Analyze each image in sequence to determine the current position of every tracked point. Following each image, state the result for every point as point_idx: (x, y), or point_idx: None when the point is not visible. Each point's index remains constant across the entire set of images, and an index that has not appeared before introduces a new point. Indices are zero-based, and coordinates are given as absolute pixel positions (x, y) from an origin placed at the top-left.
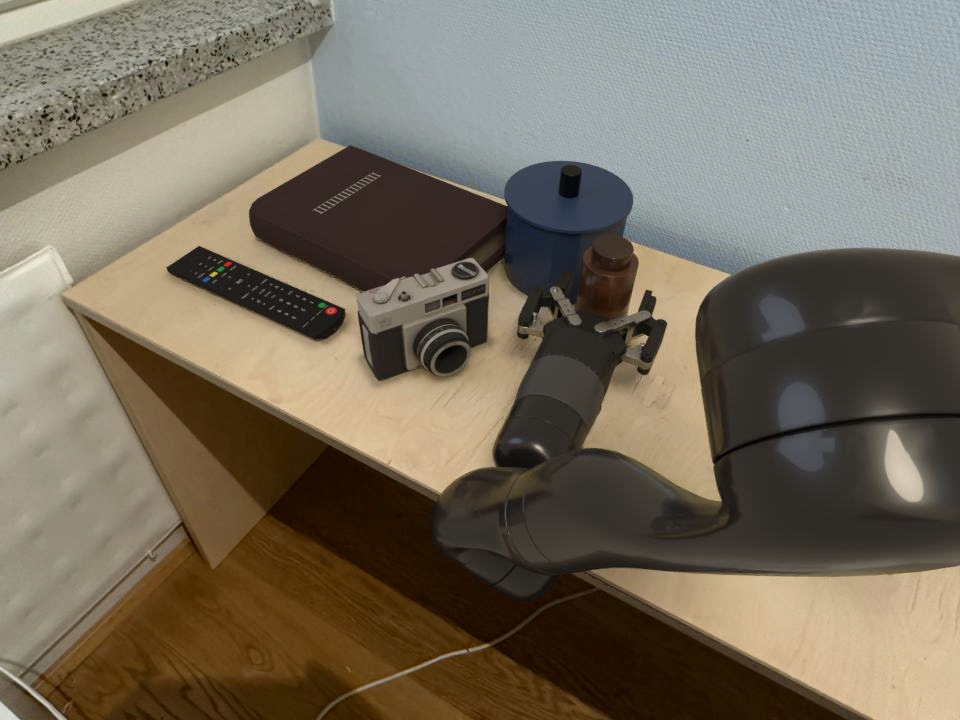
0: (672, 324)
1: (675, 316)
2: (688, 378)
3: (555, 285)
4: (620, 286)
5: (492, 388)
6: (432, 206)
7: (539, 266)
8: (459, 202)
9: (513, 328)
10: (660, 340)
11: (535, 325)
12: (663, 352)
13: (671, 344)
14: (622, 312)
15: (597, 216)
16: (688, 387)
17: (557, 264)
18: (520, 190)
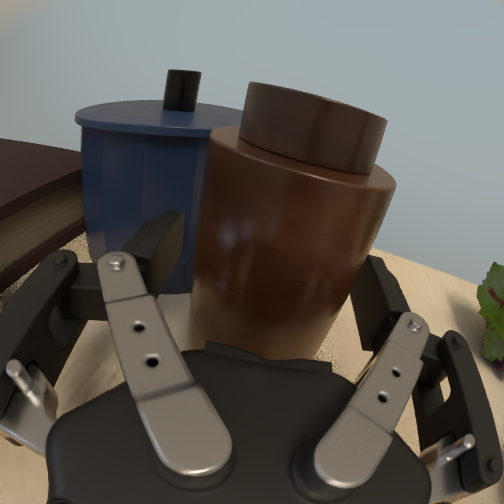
0: (349, 314)
1: (347, 301)
2: (408, 407)
3: (125, 250)
4: (365, 235)
5: (28, 500)
6: (14, 162)
7: (120, 223)
8: (45, 156)
9: (75, 347)
10: (487, 400)
11: (23, 419)
12: (359, 369)
13: (363, 350)
14: (333, 322)
15: (229, 123)
16: (415, 424)
17: (152, 215)
18: (104, 107)
